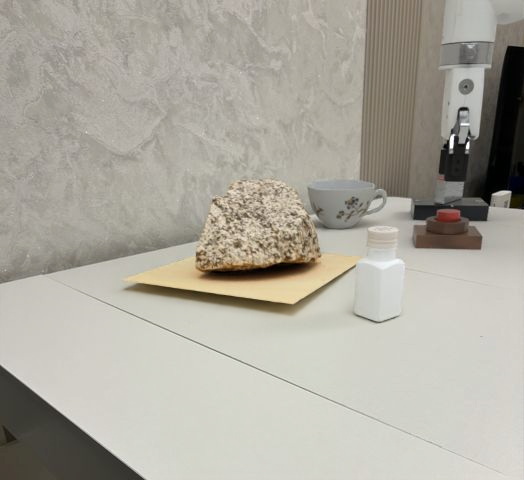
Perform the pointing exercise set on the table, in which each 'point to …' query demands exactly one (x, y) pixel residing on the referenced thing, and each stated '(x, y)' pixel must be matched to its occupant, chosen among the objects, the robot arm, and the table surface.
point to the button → (448, 215)
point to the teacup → (343, 201)
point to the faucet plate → (467, 206)
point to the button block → (447, 235)
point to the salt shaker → (379, 276)
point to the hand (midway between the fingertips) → (451, 177)
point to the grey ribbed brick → (448, 191)
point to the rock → (255, 248)
